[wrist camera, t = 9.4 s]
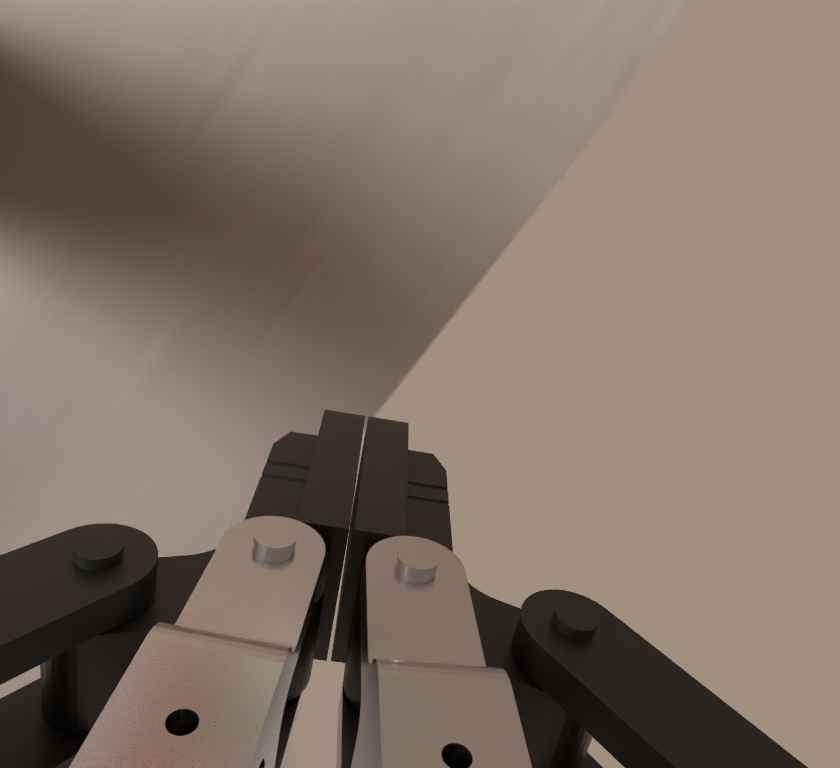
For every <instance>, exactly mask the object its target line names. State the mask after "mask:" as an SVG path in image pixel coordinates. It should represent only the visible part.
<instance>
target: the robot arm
mask: <svg viewBox="0 0 840 768" xmlns="http://www.w3.org/2000/svg"><path fill="white" fill-rule="evenodd" d="M364 420H365V416H361V415H355V414H349V413H343V412H336V411H330V410H325V412H324V416H323V419H322V423H321V427H320V431H319V435H318V436H315V435H309V434H302V433H296V432H290V433H288V434H287V435H285V436H284V437H282V438H281V439H280V440H278V441H277V442H275V443H274V444H273V446H272V449H271V452H270V454H269V457H268V460H267V463H266V465H265V467H264V470H263V473H262V477H261V478H260V481H259V483H258V486H257V489H256V491H255V494H254V497H253V499H252V502H251V504H250V507H249V510H248V512H247V515H246V518H245V520H244V521H241V522H239V523H237V524H235V525H234V526H232V527H231V528H230V529H229V530H228V531H227V532H226V533H225V535H224V536H223V538H222V540H221V542H220V543H219V545H218V547H217V549H214V550H211V551H208V552H205V553H200V554H195V555H186V556H173V557H158V550H157V546H156V544H155V543H154V541H153V540H152V539H151V538H150V537H149V536H148V535H147V534H145V533H144V532H142V531H140V530H138V529H135V528H132V527H129V526H125V525H119V524H91V525H85V526H80V527H76V528H73V529H70V530H67V531H64V532H62V533H59V534H56V535H54V536H51V537H48V538H46V539H43V540H40V541H38V542H35V543H32V544H30V545H27V546H24V547H22V548H19V549H16V550H14V551H11V552H8V553H6V554H3V555H0V685H1V684H3V683H5V682H6V681H8V680H10V679H12V678H14V677H16V676H18V675H20V674H22V673H24V672H26V671H28V670H30V669H32V668H34V667H36V666H38V665H40V672H41V678H40V679H38V680H36V681H34V682H32V683H30V684H28V685H26V686H24V687H22V688H20V689H18V690H16V691H15V692H13V693H11V694H9V695H7V696H5V697H3V698H1V699H0V768H284V765H285V761H286V757H287V753H288V750H289V746H290V743H291V739H292V736H293V732H294V729H295V725H296V721H297V718H298V713H299V710H300V707H301V701H302V695H303V690H304V689H305V688H306V686H307V684H308V682H309V679H310V675H311V670H312V663H313V659H318V660H327V654H328V649H329V643H330V637H331V631H332V625H333V620H334V613H335V607H336V602H337V596H338V591H339V585H340V579H341V573H342V567H343V561H344V556H345V550H346V544H347V538H348V544H347V551H346V558H345V565H344V573H343V579H342V586H341V593H340V600H339V608H338V616H337V622H336V629H335V636H334V644H333V650H332V658H331V661H335V662H343V663H345V672H344V680H343V685H342V690H341V696H340V701H339V707H338V727H337V728H338V729H337V766H336V767H337V768H603V767H602V766H601V765H599V764H598V762H597V761H596V760H595V759H594V758H593V757H591V756H590V755H589V754H588V753H587V750H588V747H589V744H590V742H591V739H592V737H593V738H594V739H595V740H596V741H598V742H599V743H600V744H601V745H602V746H603V747H604V748H605V749H606V750H607V751H608V752H609V753H610V754H611V755H612V756H613V757H614V758H615V759H616V760H618V762H620V763H621V764H622V765H623V766H624V767H625V768H808V767H806V766H805V765H804V764H802V763H801V762H800V761H799V760H797V759H796V758H795V757H793V756H792V755H791V754H790V753H788V752H787V751H786V750H785V749H783V748H782V747H781V746H780V745H778V744H777V743H776V742H774V741H773V740H772V739H771V738H769V737H768V736H767V735H766V734H764V733H763V732H762V731H761V730H759V729H758V728H757V727H755V726H754V725H753V724H752V723H750V722H749V721H748V720H747V719H745V718H744V717H743V716H741V715H740V714H739V713H738V712H736V711H735V710H734V709H733V708H731V707H730V706H728V705H727V704H726V703H725V702H723V701H722V700H721V699H720V698H719V697H717V696H716V695H715V694H713V693H712V692H711V691H710V690H708V689H707V688H706V687H705V686H703V685H702V684H701V683H700V682H698V681H697V680H695V679H694V678H693V677H692V676H691V675H689V674H688V673H687V672H686V671H684V670H683V669H682V668H680V667H679V666H678V665H676V664H675V663H674V662H673V661H672V660H670V659H669V658H668V657H666V656H665V655H664V654H663V653H661V652H660V651H659V650H658V649H656V648H655V647H654V646H652V645H651V644H650V643H649V642H647V641H646V640H644V639H643V638H642V637H641V636H640V635H639V634H637V633H636V632H634V631H633V630H632V629H631V628H630V627H628V626H627V625H626V624H625V623H623V622H622V621H621V620H619V619H618V618H617V617H615V616H614V615H613V614H612V613H610V612H609V611H608V610H607V609H605V608H604V607H603V606H601V605H600V604H598V603H597V602H595V601H593V600H591V599H589V598H586V597H585V596H582V595H579V594H576V593H573V592H569V591H564V590H544V591H539V592H536V593H534V594H532V595H531V596H529V597H528V598H527V599H526V600H525V601H524V603H523V605H522V608H521V609H520V608H517V607H514V606H512V605H509V604H507V603H504V602H501V601H499V600H496V599H494V598H491V597H489V596H487V595H485V594H483V593H482V592H480V591H478V590H477V589H476V588H474V587H473V586H471V585H470V584H469V583H468V581H467V577H466V572H465V569H464V566H463V564H462V563H461V561H460V560H459V558H458V557H457V556H456V555H455V554H454V553H453V549H452V537H451V525H450V512H449V505H448V491H447V476H446V470H445V469H444V467H443V466H442V465H441V463H440V462H439V461H438V460H437V458H436V457H435V456H434V454H429V453H424V452H416V451H411V450H408V423H405V422H399V421H393V420H387V419H380V418H374V417H368V422H367V428H366V433H365V439H364V445H363V451H362V457H361V462H360V469H359V474H358V480H357V486H356V492H355V497H354V491H355V484H356V477H357V470H358V462H359V456H360V449H361V441H362V434H363V427H364ZM353 498H354V503H353ZM352 505H353V509H352ZM351 512H352V516H351ZM350 519H351V522H350ZM349 526H350V529H349ZM348 533H349V536H348Z"/></svg>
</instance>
